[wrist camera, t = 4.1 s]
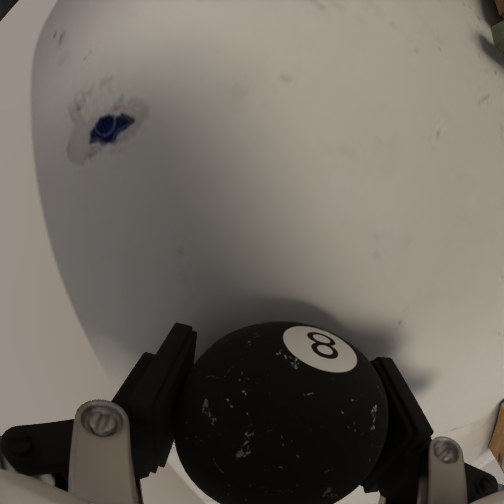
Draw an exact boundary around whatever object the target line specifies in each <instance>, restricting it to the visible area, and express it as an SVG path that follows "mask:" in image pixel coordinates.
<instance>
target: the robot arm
mask: <svg viewBox="0 0 504 504" xmlns="http://www.w3.org/2000/svg"><path fill="white" fill-rule="evenodd" d="M196 340H197V332H196V331H192V326H189V325H185V324H181V323H175V325H174V326H173V328H172V329H171V331H170V333H169V334H168V336H167V337H166V339H165V341H164V342H163V344H162V345H161V347H160V349H159V350H158V352H157V354H156V355H154V354H151V353H148V352H145V353H144V354H143V355H142V356H141V358H140V359H139V361H138V362H137V364H136V365H135V367H134V368H133V370H132V371H131V373H130V374H129V376H128V377H127V379H126V380H125V382H124V383H123V385H122V386H121V388H120V389H119V391H118V392H117V394H116V395H115V397H114V398H113V400H112V401H106V400H92V401H88V402H86V403H84V404H82V405H81V406H80V407H79V408H78V410H77V412H76V415H75V419H72V420H65V421H58V422H51V423H43V424H33V425H22V426H15V427H11V428H10V429H8V430H6V432H5V433H4V434H3V435H2V436H0V504H144V502H143V496H142V489H141V482H140V479H142V478H145V477H148V476H149V473H150V472H153V473H156V471H157V468H158V466H160V467H164V466H165V464H166V461H167V458H168V455H169V453H170V450H171V447H172V444H173V441H174V427H173V426H174V413H175V408H176V403H177V399H178V396H179V393H180V390H181V388H182V385H183V383H184V381H185V379H186V377H187V375H188V373H189V372H190V370H191V369H192V367H193V366H194V357H195V349H196ZM370 363H371V364H372V366H373V367H374V368H375V370H376V372H377V373H378V375H379V377H380V379H381V381H382V384H383V386H384V389H385V393H386V397H387V402H388V429H387V435H386V439H385V443H384V446H383V449H382V451H381V454H380V456H379V458H378V460H377V462H376V464H375V466H374V467H373V469H372V470H371V472H370V473H369V475H368V476H367V477H366V478H365V480H364V481H363V482H362V483H361V484H360V485H361V486H363V488H364V492H365V493H370V492H377V491H379V492H380V498H379V503H378V504H504V485H502V484H498V483H497V480H496V478H495V477H494V476H492V475H491V474H489V473H487V472H485V471H482V470H480V469H478V468H475V467H473V466H471V465H469V464H467V463H465V462H464V459H463V452H462V449H461V447H460V446H459V444H458V443H457V442H456V441H454V440H453V439H451V438H448V437H443V436H440V437H436V438H435V439H433V440H432V439H431V435H432V434H433V433H434V431H433V430H432V428H431V426H430V424H429V422H428V420H427V418H426V417H425V415H424V413H423V411H422V409H421V408H420V406H419V404H418V402H417V401H416V399H415V397H414V395H413V394H412V392H411V390H410V389H409V387H408V385H407V383H406V382H405V380H404V378H403V377H402V375H401V373H400V372H399V370H398V368H397V367H396V365H395V363H394V362H393V360H392V359H391V358H385V357H376V358H375V359H374V360H372V361H370Z"/></svg>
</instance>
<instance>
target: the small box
mask: <svg viewBox="0 0 504 504" xmlns="http://www.w3.org/2000/svg"><path fill="white" fill-rule="evenodd" d="M489 449H490V450H491V452H492V454H493V455H494V457H495V458H496V460H497V462H498V464H499V465H500V467H501V469H502V471H503V473H504V402H503V403H502V404H501V406H500V411H499V417H498V420H497V424H496V427H495V430H494V433H493V436H492V439H491V442H490V444H489Z"/></svg>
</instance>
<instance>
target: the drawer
mask: <svg viewBox="0 0 504 504" xmlns="http://www.w3.org/2000/svg"><path fill="white" fill-rule="evenodd" d="M495 3H496V6H497V9H498V13H499V15H500V16H501V17H502V18H503V19H504V0H495ZM491 31H492V36H493V41H494V45H495V46H496V47H497V48H499V49H500V50H501V51H502V52H503V53H504V20H503V21H501V22H499V23H498V24H496V25H494V26H492V27H491Z"/></svg>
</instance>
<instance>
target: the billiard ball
mask: <svg viewBox="0 0 504 504" xmlns="http://www.w3.org/2000/svg"><path fill="white" fill-rule="evenodd" d="M173 427H174V441H175V445H176V450H177V453H178V456H179V459H180V461H181V464H182V465H183V467H184V469H185V471H186V473H187V474H188V476H189V477H190V479H191V480H192V481H193V482H194V483H195V484H196V485H197V487H198V488H199V489H201V490H202V491H203V492H204V493H205V494H206V495H208V496H209V497H211V498H212V499H213V500H215V501H217V502H219V503H220V504H334V503H336V502H337V501H339V500H341V499H342V498H344V497H345V496H347V495H348V494H350V493H351V492H352V491H354V490H355V489H356V488H357V487H358V486H359V485H360V484H361V483H362V482H363V481H364V480H365V478H366V477H367V476H368V475H369V473H370V472H371V470H372V469H373V467H374V466H375V464H376V462H377V460H378V458H379V456H380V454H381V451H382V449H383V446H384V443H385V439H386V435H387V429H388V402H387V397H386V393H385V389H384V386H383V384H382V381H381V379H380V377H379V375H378V373H377V372H376V370H375V368H374V367H373V366H372V364H371V363H370V362H369V360H368V359H367V358H366V357H365V356H364V355H363V354H362V353H361V352H360V351H359V350H358V349H356V348H355V347H354V346H353V345H351V344H350V343H348V342H347V341H345V340H344V339H342V338H341V337H339V336H337V335H335V334H333V333H331V332H329V331H326V330H324V329H321V328H318V327H315V326H312V325H308V324H303V323H296V322H267V323H260V324H255V325H251V326H247V327H244V328H241V329H239V330H236V331H234V332H232V333H230V334H228V335H226V336H225V337H223V338H221V339H220V340H218V341H217V342H216V343H215V344H213V345H212V346H211V347H210V348H208V349H207V350H206V351H205V352H204V353H203V354H202V356H201V357H200V358H199V359H198V360H197V362H196V363H195V364H194V366H193V367H192V369H191V370H190V372H189V373H188V375H187V377H186V379H185V381H184V383H183V385H182V388H181V390H180V393H179V396H178V399H177V403H176V408H175V413H174V426H173Z"/></svg>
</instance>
